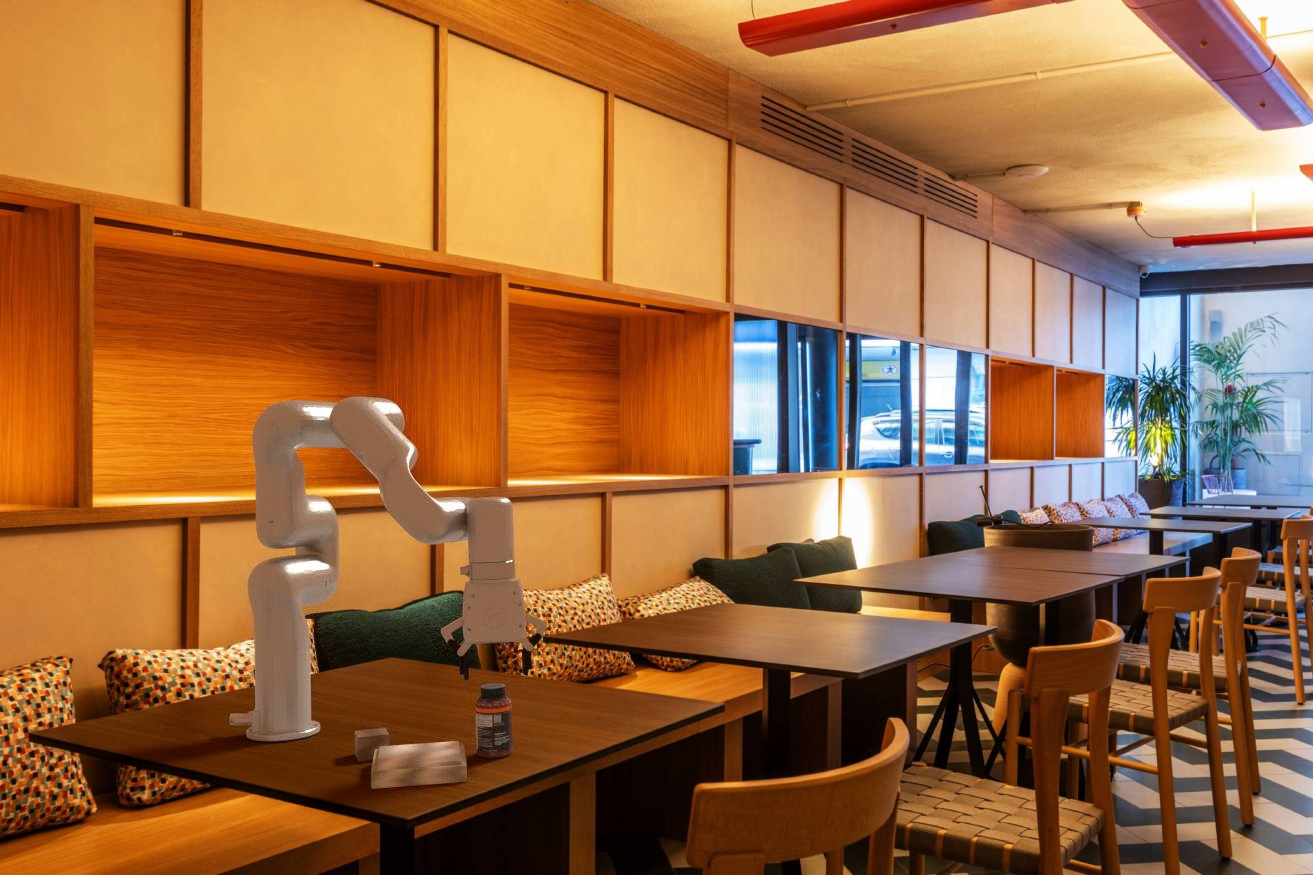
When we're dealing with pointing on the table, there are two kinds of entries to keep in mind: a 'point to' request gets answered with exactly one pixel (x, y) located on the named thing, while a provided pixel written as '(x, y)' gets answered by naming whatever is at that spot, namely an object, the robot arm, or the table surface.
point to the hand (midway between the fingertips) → (496, 676)
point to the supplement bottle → (493, 722)
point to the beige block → (369, 742)
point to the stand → (418, 764)
